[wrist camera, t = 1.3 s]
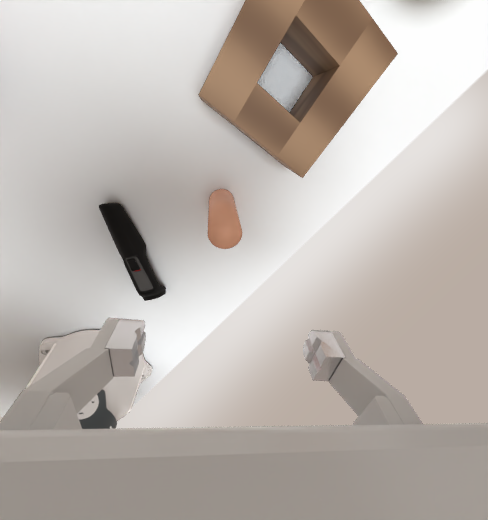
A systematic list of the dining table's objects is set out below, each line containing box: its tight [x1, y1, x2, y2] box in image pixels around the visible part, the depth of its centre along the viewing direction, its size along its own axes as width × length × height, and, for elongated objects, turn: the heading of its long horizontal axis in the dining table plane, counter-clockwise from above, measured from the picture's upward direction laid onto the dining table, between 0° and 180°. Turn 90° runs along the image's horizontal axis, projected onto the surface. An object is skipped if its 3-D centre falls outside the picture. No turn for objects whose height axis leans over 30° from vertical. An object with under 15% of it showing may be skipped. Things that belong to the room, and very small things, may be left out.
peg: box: [208, 189, 242, 249], centre depth 26 cm, size 3×3×10 cm
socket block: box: [199, 0, 398, 178], centre depth 22 cm, size 12×12×6 cm
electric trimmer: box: [99, 203, 166, 301], centre depth 31 cm, size 4×16×3 cm, turn 9°
